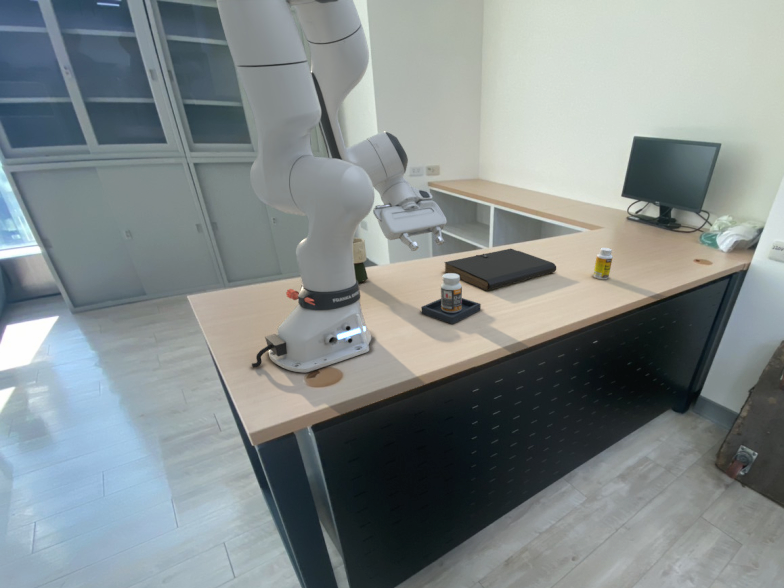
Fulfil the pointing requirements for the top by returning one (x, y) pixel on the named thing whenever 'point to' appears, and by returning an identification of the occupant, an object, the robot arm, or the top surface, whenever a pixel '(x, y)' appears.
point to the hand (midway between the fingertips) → (428, 246)
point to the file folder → (499, 268)
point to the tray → (437, 312)
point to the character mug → (359, 259)
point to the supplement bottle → (603, 264)
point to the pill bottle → (451, 293)
